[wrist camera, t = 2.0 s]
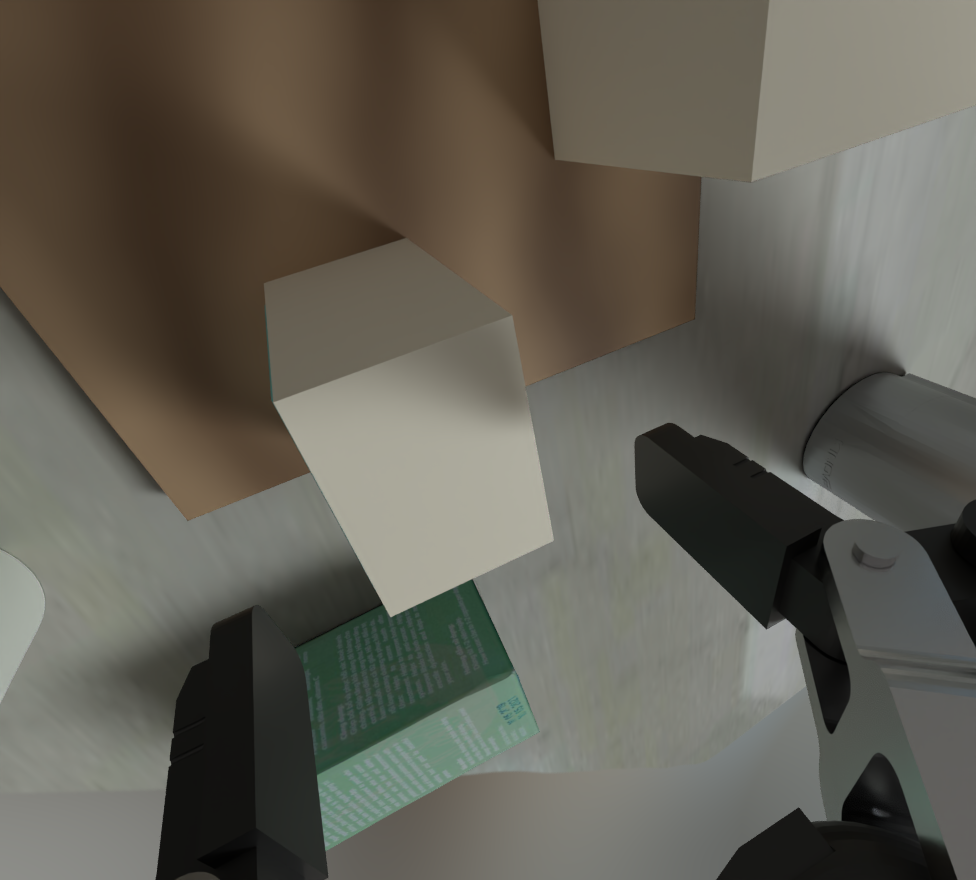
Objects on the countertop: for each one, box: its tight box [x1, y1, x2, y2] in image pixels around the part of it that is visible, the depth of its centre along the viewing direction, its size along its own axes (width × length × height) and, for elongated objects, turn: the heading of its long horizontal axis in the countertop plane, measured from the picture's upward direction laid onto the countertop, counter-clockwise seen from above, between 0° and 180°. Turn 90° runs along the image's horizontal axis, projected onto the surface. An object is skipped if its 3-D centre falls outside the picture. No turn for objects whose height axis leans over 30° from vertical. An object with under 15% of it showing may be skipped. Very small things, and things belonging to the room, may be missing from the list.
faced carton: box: [538, 0, 976, 182], centre depth 14 cm, size 7×5×9 cm
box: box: [295, 578, 540, 851], centre depth 27 cm, size 7×14×8 cm, turn 105°
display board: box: [0, 0, 701, 521], centre depth 17 cm, size 24×17×2 cm
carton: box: [264, 238, 554, 617], centre depth 15 cm, size 7×5×9 cm
